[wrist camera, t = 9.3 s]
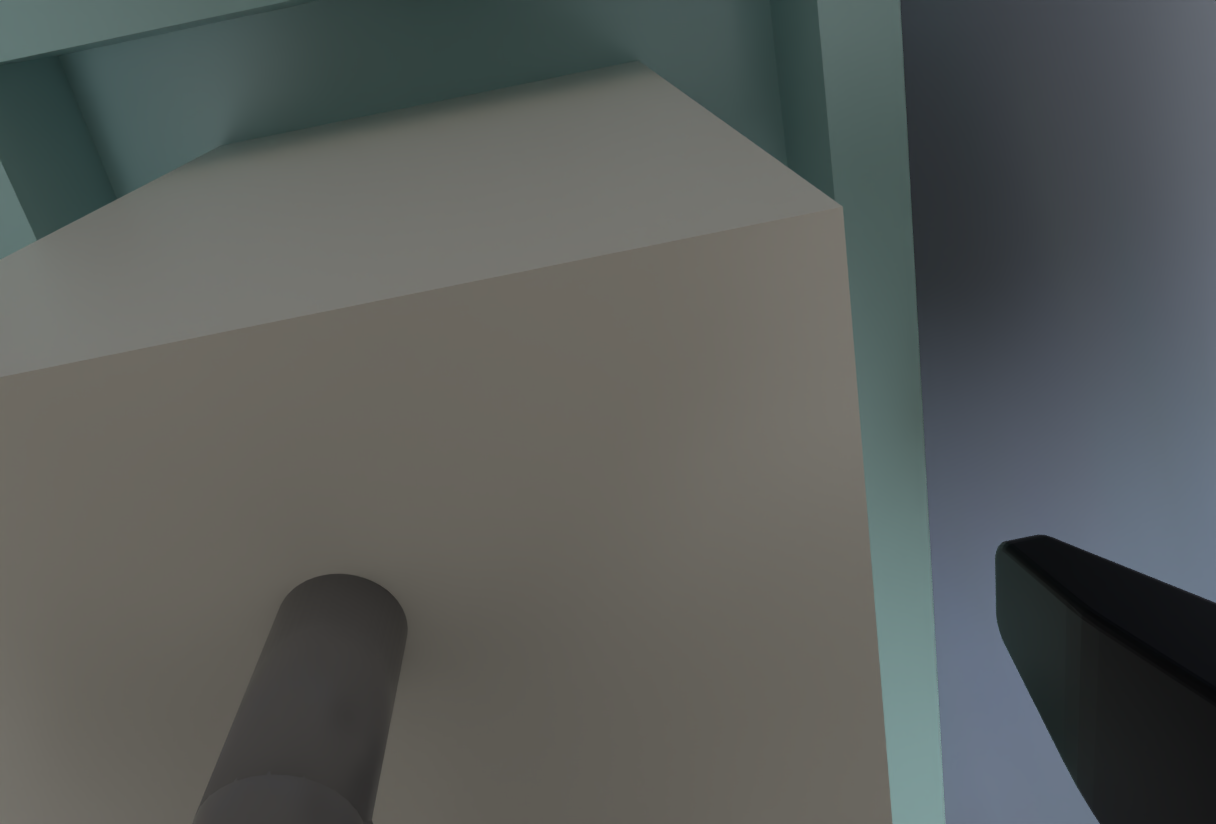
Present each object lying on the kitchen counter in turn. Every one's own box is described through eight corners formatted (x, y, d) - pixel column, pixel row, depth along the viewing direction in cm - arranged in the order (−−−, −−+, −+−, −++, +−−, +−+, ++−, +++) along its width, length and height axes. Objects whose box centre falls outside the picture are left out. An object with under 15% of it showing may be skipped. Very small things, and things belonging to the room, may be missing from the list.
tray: (889, 726, 16) (946, 847, 14) (344, 835, 16) (314, 972, 14) (810, -184, 11) (887, -231, 8) (-22, -6, 11) (-170, -4, 8)
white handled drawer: (735, 661, 15) (1020, 1608, 6) (423, 722, 15) (272, 1747, 6) (637, 60, 11) (1020, 333, 2) (220, 145, 11) (-879, 712, 2)
